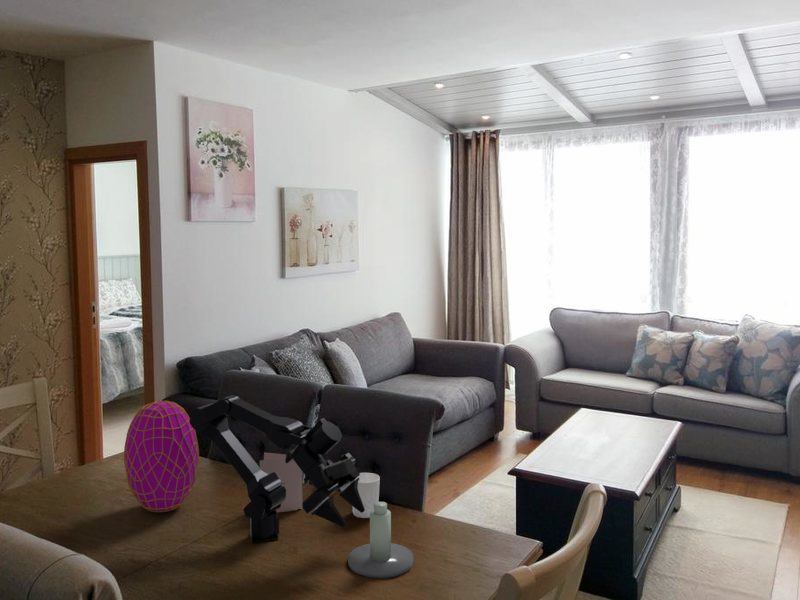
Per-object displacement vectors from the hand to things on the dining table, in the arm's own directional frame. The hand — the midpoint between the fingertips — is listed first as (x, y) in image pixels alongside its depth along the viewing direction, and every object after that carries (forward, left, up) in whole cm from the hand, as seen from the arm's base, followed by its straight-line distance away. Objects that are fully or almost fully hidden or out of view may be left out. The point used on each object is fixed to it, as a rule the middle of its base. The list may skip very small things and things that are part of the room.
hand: (354, 518), depth 157 cm
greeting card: (-13, +32, -9) cm, 36 cm away
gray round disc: (+5, -5, -9) cm, 11 cm away
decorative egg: (-43, +43, -9) cm, 62 cm away
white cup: (+9, +23, -9) cm, 27 cm away
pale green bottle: (+5, -5, -8) cm, 10 cm away
